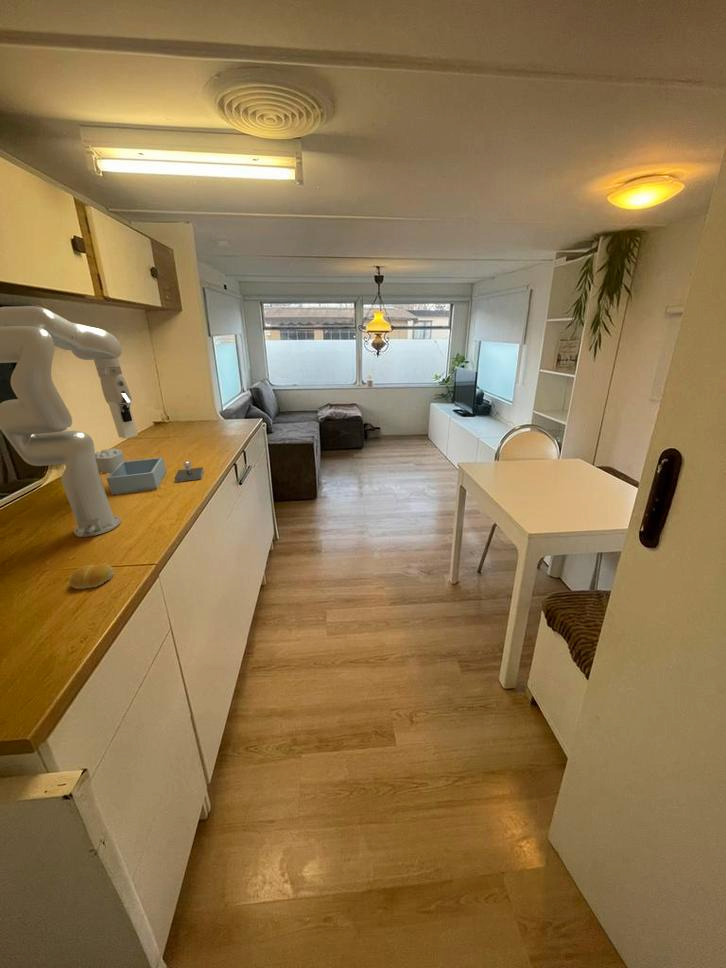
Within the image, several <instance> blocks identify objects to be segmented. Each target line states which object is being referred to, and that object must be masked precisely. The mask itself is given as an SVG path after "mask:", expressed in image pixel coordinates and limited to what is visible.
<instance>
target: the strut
mask: <svg viewBox="0 0 726 968" xmlns="http://www.w3.org/2000/svg"><path fill="white" fill-rule="evenodd" d="M122 403H124V401H122ZM107 404H108V406H109V409H110V413H111V416H112V419H113V420H112V421H113V423H114V425H115V429H116V432H117V435H118V438H122V439H129V438H133V437H137V436H138V435H139V434H138V430H137V428H136V424H135V420H134V417H133V413H132V410H131V408H130V414H131V418H132V421H129V422H123V419H122V416H121V412H122V411H121V409H120V407H119V404H117V403H116V402H110V401H108V403H107ZM124 405H125V404H124ZM124 405H122V406H124Z"/></svg>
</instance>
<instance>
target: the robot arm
mask: <svg viewBox="0 0 726 968" xmlns="http://www.w3.org/2000/svg"><path fill="white" fill-rule="evenodd" d="M121 345H122V344H121V343H120V341H119V340H118V338H116V336H114V334H112V333H110V332H108V331H107V330H104V329H101V328H97V327H93V326H89V325H85V324H82V323H81V324H80V323H75V322H71V321H69V320H68V319H66V318H64V317H62V316H60V315H58V314H57V313H55V312H53V311H51V310H49V309H47V308H45V307H42V306H36V305H24V306H23V305H22V306H20V305H19V306H1V307H0V364H6V363H7V364H9V363H16V365H15V368H14V369H13V371H12V374H11V377H10V386H11V387H10V388H12V389H11V390H12V391H13V393H14V394H15V396H16V398H17V399H8V400H4V401H2V402H1V403H0V431H1V433H2V434H3V435H4V436H5V437H6V439H7V440H8V441H9V443H10V444H11V446H12V447H13V449H14V450H15V451H16V452H17V453H18V455H19V456H20V458H21V459H22V460H23V461H24V462H25V463H26V464H28V465H31V466H33V467H35V466H36V467H42V466H43V467H44V466H56V465H57V466H58V465H60V466H61V465H64V466H65V468H64V470H63V473H62V474H61V479H60V480H61V484H62V487H63V489H64V492H65V495H66V497H67V500H68V503H69V505H70V508H71V511H72V513H73V517H74V518H75V521H76V523H77V525H75V527H74V528H73V534H74V535H75V536H77V537H80V538H81V537H82V538H83V537H85V538H87V537H94V536H98V535H99V536H100V535H102V534H105V533H107V532H109V531H112V530H114V529H116V528H117V527H118V526H119V525H120V524H121V518H120V516H117V515H115V514H114V513H113V512H112V509H111V504H110V502H109V499H108V496H107V494H106V490H105V486H104V484H103V481H102V478H101V473H100V472H99V469H98V466H97V463H96V458H95V453H96V452H95V443H94V440H93V439H92V437H91V436H90V435H89V434H87V432H83V431H79V430H68V429H70V428H71V427H72V425H73V418H72V414H71V412H70V411H69V409H68V407H67V405H66V404H65V402H64V400H63V398H62V396H61V394H60V393H59V392H58V389H57V388H56V386H55V384H54V381H53V377H52V366H53V365H52V364H53V359H54V355H55V347H57V348H59V349H62V350H65V351H71V353H72V354H73V355H74V356H75V357H76V358H78V359H81V360H84V361H91V360H92V361H94V365H95V369H96V372H97V376H98V378H99V379H100V385H101V390H102V393H103V397H104V399H105V402H106V403H107V404H108V401H110V402H116V403H117V404H119V407H120V409H121V411H122V412H121V416H122V419H123V422H129V421H132V418H131V414H130V409H131V405H132V396H131V392H130V389H129V387H128V383H127V381H126V379H125V377H124V375H123V372H122V368H121V365H120V361H119V358H120V357H121V355H122V351H123V349H122V346H121ZM122 401H124V403H122ZM124 404H125V405H124ZM122 405H124V406H122Z"/></svg>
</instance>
